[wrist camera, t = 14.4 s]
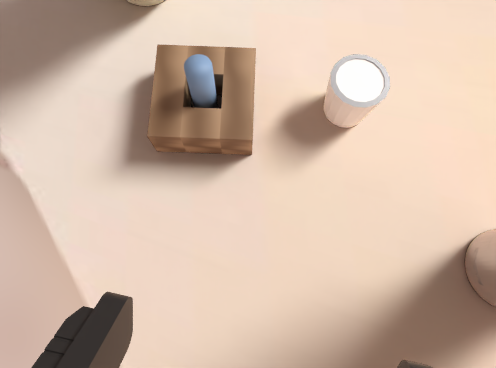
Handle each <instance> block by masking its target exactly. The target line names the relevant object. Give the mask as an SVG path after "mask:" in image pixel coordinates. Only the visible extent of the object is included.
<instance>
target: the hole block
mask: <svg viewBox="0 0 496 368" xmlns="http://www.w3.org/2000/svg"><path fill="white" fill-rule="evenodd" d="M195 54H202V55H205V56H207V57H208V58H209V59H210V60H211V62H212V66H213V74H214V81H215V88H216V95H222V107H221V109H218V108H190V107H191V93H190V89H189V86H188V82H187V78H186V75H185V71H184V63H185V61H186V60H187V59H188V58H189V57H190V56H192V55H195ZM255 55H256V48H235V47H207V46H180V45H158V46H157V55H156V63H155V72H154V81H153V89H152V98H151V107H150V115H149V124H148V133H147V137H148V138H149V140H150V141H151V143H152V144H153V146H154V147H155V149H156V150H157V151H163V152H190V153H217V154H245V155H252V140H253V112H254V84H255Z"/></svg>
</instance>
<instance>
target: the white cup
mask: <svg viewBox="0 0 496 368" xmlns="http://www.w3.org/2000/svg"><path fill="white" fill-rule="evenodd" d="M389 89H390V77H389V75H388V73H387V71H386V69H385V67H384V66H383V65H382V64H381V63H380V62H379V61H378V60H376V59H374V58H372V57H369V56H367V55H359V54H353V55H350V56H346V57H343V58H342V59H341V60H340V61H338V62H337V63H336V64H335V66H334V67H333V69H332V71H331V74H330V78H329V82H328V87H327V91H326V95H325V99H324V113H325V115H326V117H327V119H328V120H329V121H330V122H331V123H332V124H335V125H337V126H339V127H346V128H349V127H353V126H356V125H357V124H359V123H360V122H361V121H362V120H363V119H364V118H365V117H366V116H367V115H368V114H369V113H370V112H371V111H372V110H373V109H374V108H375V107H376V106H377V105H378V104H379V103H380V102H381V101H382V100H383V99H384V98H385V97H386V95H387V93H388V91H389Z"/></svg>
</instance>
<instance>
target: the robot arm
mask: <svg viewBox="0 0 496 368" xmlns="http://www.w3.org/2000/svg"><path fill="white" fill-rule="evenodd" d="M465 268H466V273H467V277H468V279H469V281H470V284H471V285H472V287H473V288H474V290H475V291H476V292H477V293H478V294H479V296H480V297H481V298H482V299H484V300H485V301H487V302H488V303H489V304H491V305H493V306H496V229H493V230H489V231H486V232H484V233H481V234H480V235H478V236H477V237H476V238H474V240H473V241H472V242H471V243H470V245H469V247H468V249H467V252H466V257H465ZM132 331H133V300H132V297H128V296H124V295H120V294H115V293H111V292H106V293H105V294H104V295H103V296H102V297H101V299H100V300H99V302H98V304H97V305H96V307H95V308H94V309H93V308H89V307H84V306H83V307H82V308H80V309H79V310H78V311H76V312H75V313H73V314H72V315H71V316H70V317H68V318H67V319H66V320H65V321H64V323H63V324H62V326H61V327H60V328H59V330H58V331H57V333H56V334H55V336H54V338H53V339H52V340H51V341H50V343H49V344H48V345H47V347H46V348H45V351H44V353H42V354H41V355H40V357H39V358H38V359H37V361H36V362H35V364H34V365H33V366H32V368H119V366H120V364H121V362H122V360H123V358H124V356H125V354H126V352H127V350H128V347H129V344H130V341H131V337H132ZM397 368H432V367H431V366H428V365H424V364H419V363H415V362H411V361H406V360H403V361H401V362H400V364H399V366H398V367H397Z"/></svg>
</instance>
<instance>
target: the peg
mask: <svg viewBox="0 0 496 368" xmlns="http://www.w3.org/2000/svg"><path fill="white" fill-rule="evenodd" d="M184 71H185V75H186V78H187V82H188V86H189V89H190V93H191V97H192V101H193V104H194V108H218V102H217V95H216V88H215V81H214V74H213V66H212V62H211V60H210V59H209V58H208V57H207V56H205V55H202V54H195V55H192V56H190V57H189V58H188V59H187V60H186V61H185V63H184Z"/></svg>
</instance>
